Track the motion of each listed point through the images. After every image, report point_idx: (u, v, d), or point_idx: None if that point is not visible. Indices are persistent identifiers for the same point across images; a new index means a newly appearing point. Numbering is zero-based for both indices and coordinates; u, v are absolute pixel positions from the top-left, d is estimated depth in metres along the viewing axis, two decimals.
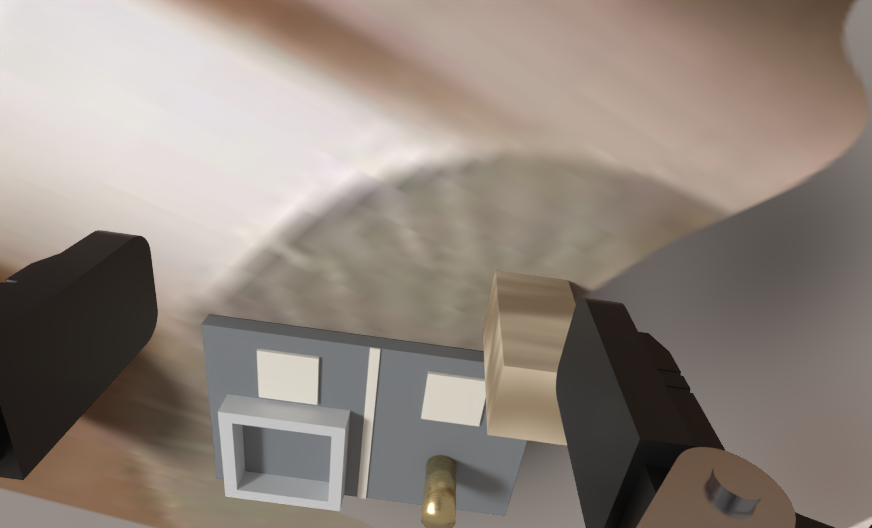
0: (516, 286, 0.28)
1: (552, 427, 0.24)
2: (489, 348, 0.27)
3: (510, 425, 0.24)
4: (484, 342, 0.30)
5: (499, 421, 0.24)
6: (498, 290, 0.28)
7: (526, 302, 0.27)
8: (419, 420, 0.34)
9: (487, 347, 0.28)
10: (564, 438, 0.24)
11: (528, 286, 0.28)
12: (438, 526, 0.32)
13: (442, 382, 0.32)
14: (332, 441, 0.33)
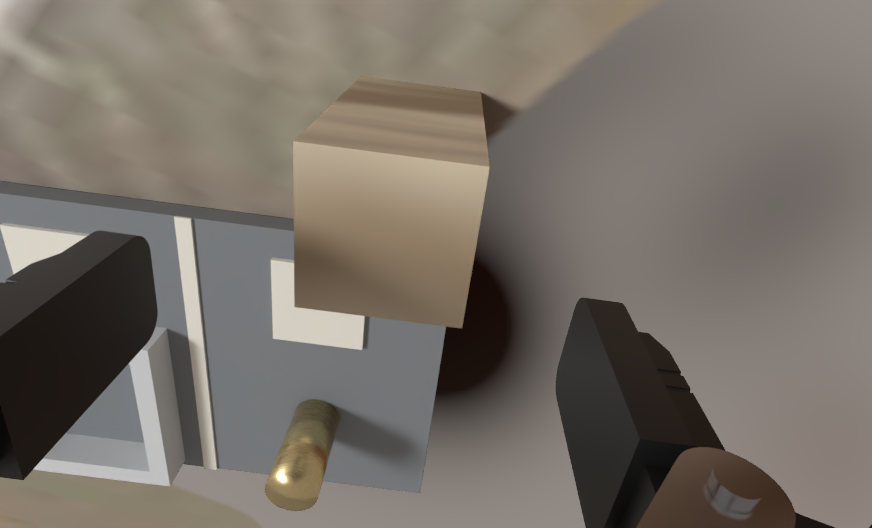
0: (387, 88, 0.17)
1: (413, 287, 0.12)
2: None
3: (333, 284, 0.12)
4: None
5: (310, 276, 0.12)
6: (352, 88, 0.16)
7: (394, 99, 0.15)
8: (273, 342, 0.22)
9: None
10: (439, 311, 0.13)
11: (408, 90, 0.17)
12: (293, 502, 0.21)
13: None
14: (133, 373, 0.21)
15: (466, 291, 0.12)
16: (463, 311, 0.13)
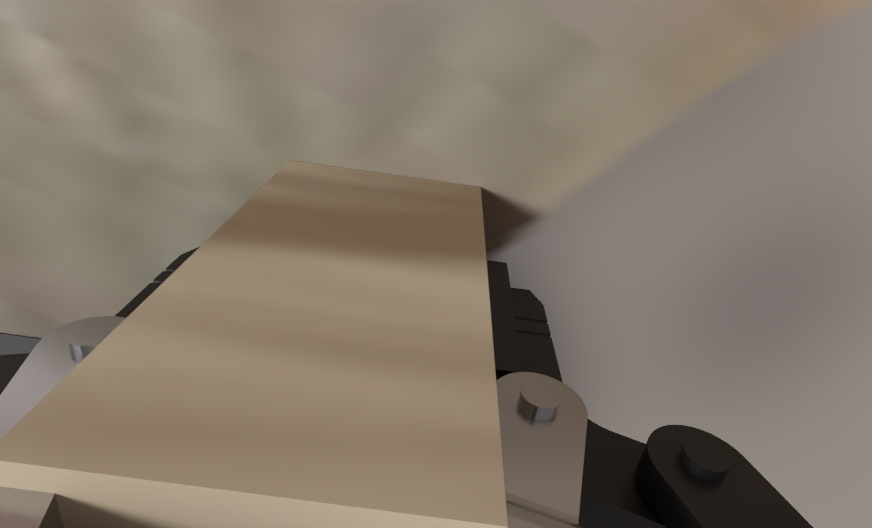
0: (324, 189, 0.10)
1: None
2: None
3: None
4: None
5: None
6: (259, 194, 0.09)
7: (327, 223, 0.09)
8: None
9: None
10: None
11: (360, 191, 0.10)
12: None
13: None
14: None
15: None
16: None
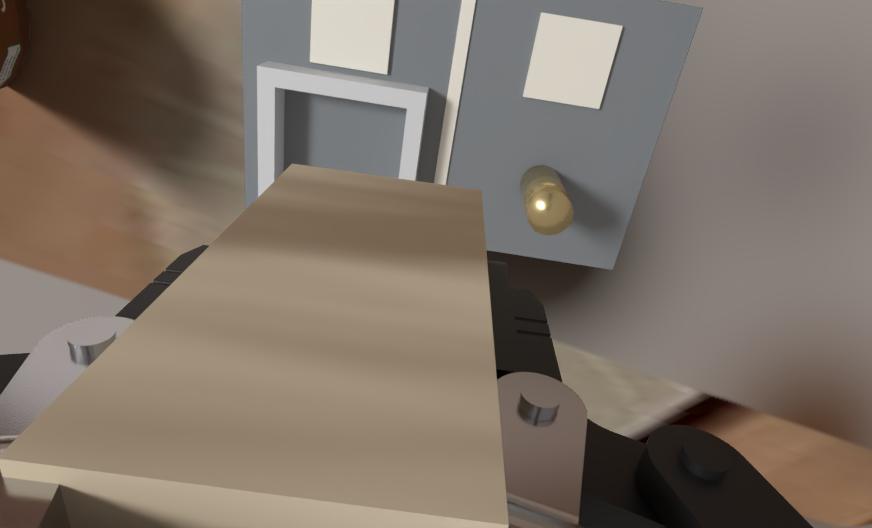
0: (326, 192, 0.10)
1: None
2: None
3: None
4: None
5: None
6: (262, 197, 0.10)
7: (329, 226, 0.09)
8: (519, 103, 0.26)
9: None
10: None
11: (362, 195, 0.10)
12: (549, 226, 0.24)
13: (559, 28, 0.24)
14: (407, 117, 0.25)
15: None
16: None
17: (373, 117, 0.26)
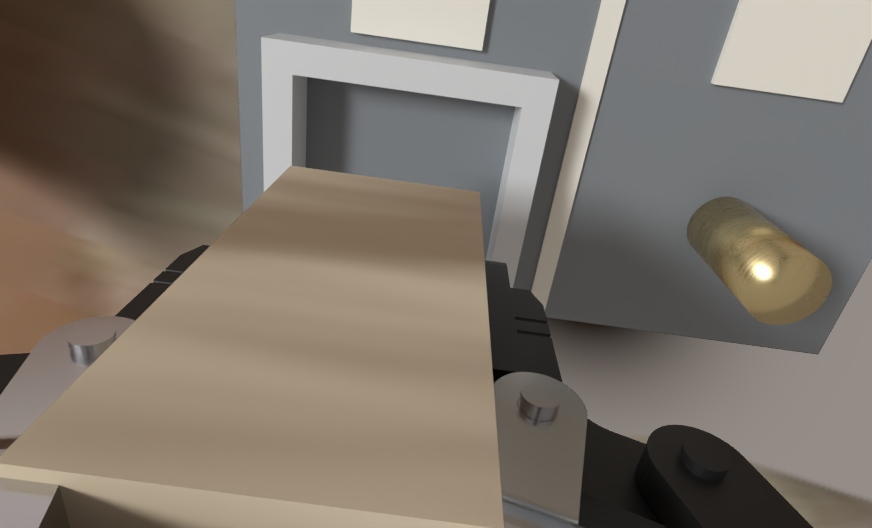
0: (324, 194, 0.10)
1: None
2: None
3: None
4: None
5: None
6: (261, 199, 0.10)
7: (328, 228, 0.09)
8: (703, 95, 0.15)
9: None
10: None
11: (360, 196, 0.10)
12: (781, 309, 0.14)
13: None
14: (521, 123, 0.14)
15: None
16: None
17: (454, 124, 0.16)
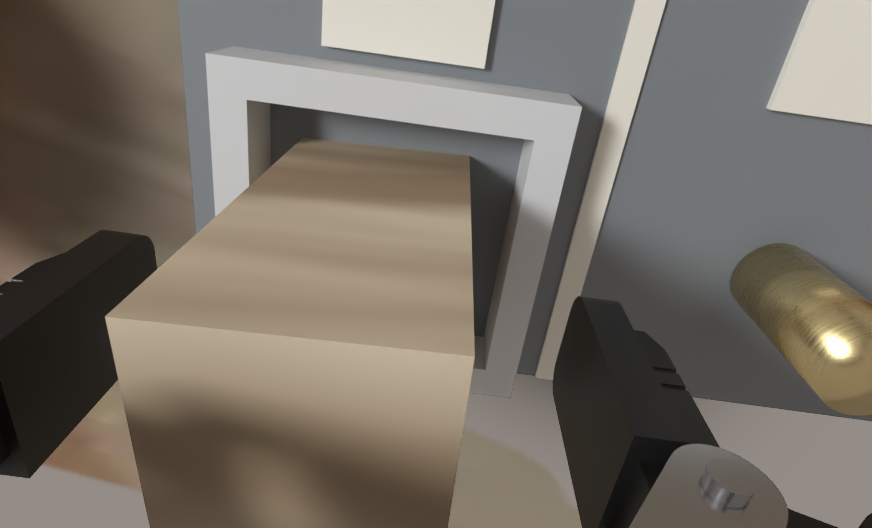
0: (334, 158, 0.12)
1: None
2: None
3: (215, 527, 0.07)
4: None
5: (174, 515, 0.07)
6: (280, 161, 0.11)
7: (338, 181, 0.10)
8: (756, 123, 0.12)
9: None
10: None
11: (365, 159, 0.12)
12: (864, 397, 0.11)
13: None
14: (534, 160, 0.11)
15: None
16: None
17: None
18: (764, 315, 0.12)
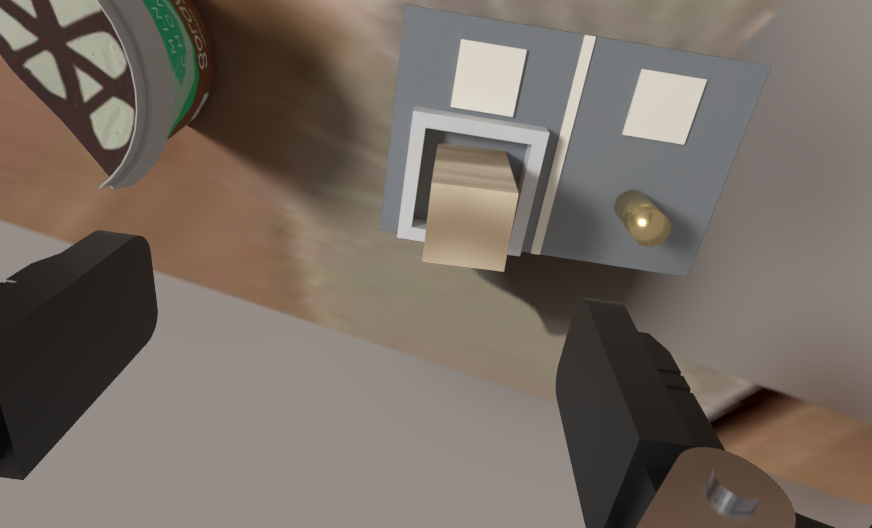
0: (455, 150, 0.31)
1: (481, 250, 0.26)
2: None
3: (442, 249, 0.26)
4: None
5: (431, 245, 0.26)
6: (437, 150, 0.30)
7: (462, 157, 0.29)
8: (619, 140, 0.31)
9: None
10: (493, 262, 0.26)
11: (466, 151, 0.31)
12: (650, 239, 0.30)
13: (656, 81, 0.30)
14: (531, 152, 0.30)
15: (506, 252, 0.26)
16: (504, 262, 0.26)
17: None
18: (622, 215, 0.31)
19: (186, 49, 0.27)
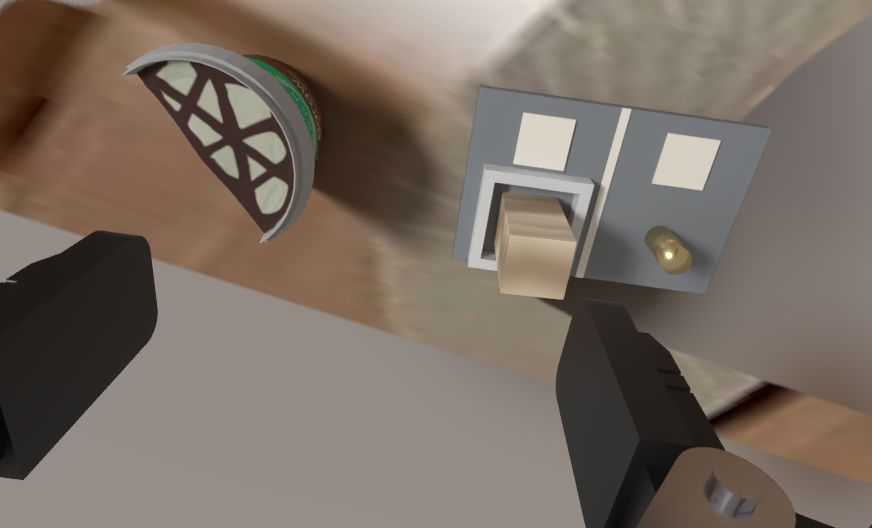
0: (517, 198, 0.38)
1: (546, 284, 0.34)
2: (499, 242, 0.37)
3: (516, 284, 0.34)
4: (495, 245, 0.40)
5: (508, 281, 0.34)
6: (504, 200, 0.38)
7: (525, 207, 0.37)
8: (649, 187, 0.39)
9: (498, 244, 0.38)
10: (555, 293, 0.34)
11: (526, 199, 0.38)
12: (675, 269, 0.37)
13: (680, 142, 0.37)
14: (579, 199, 0.38)
15: (565, 285, 0.34)
16: (564, 293, 0.34)
17: None
18: (652, 248, 0.39)
19: (313, 129, 0.35)
